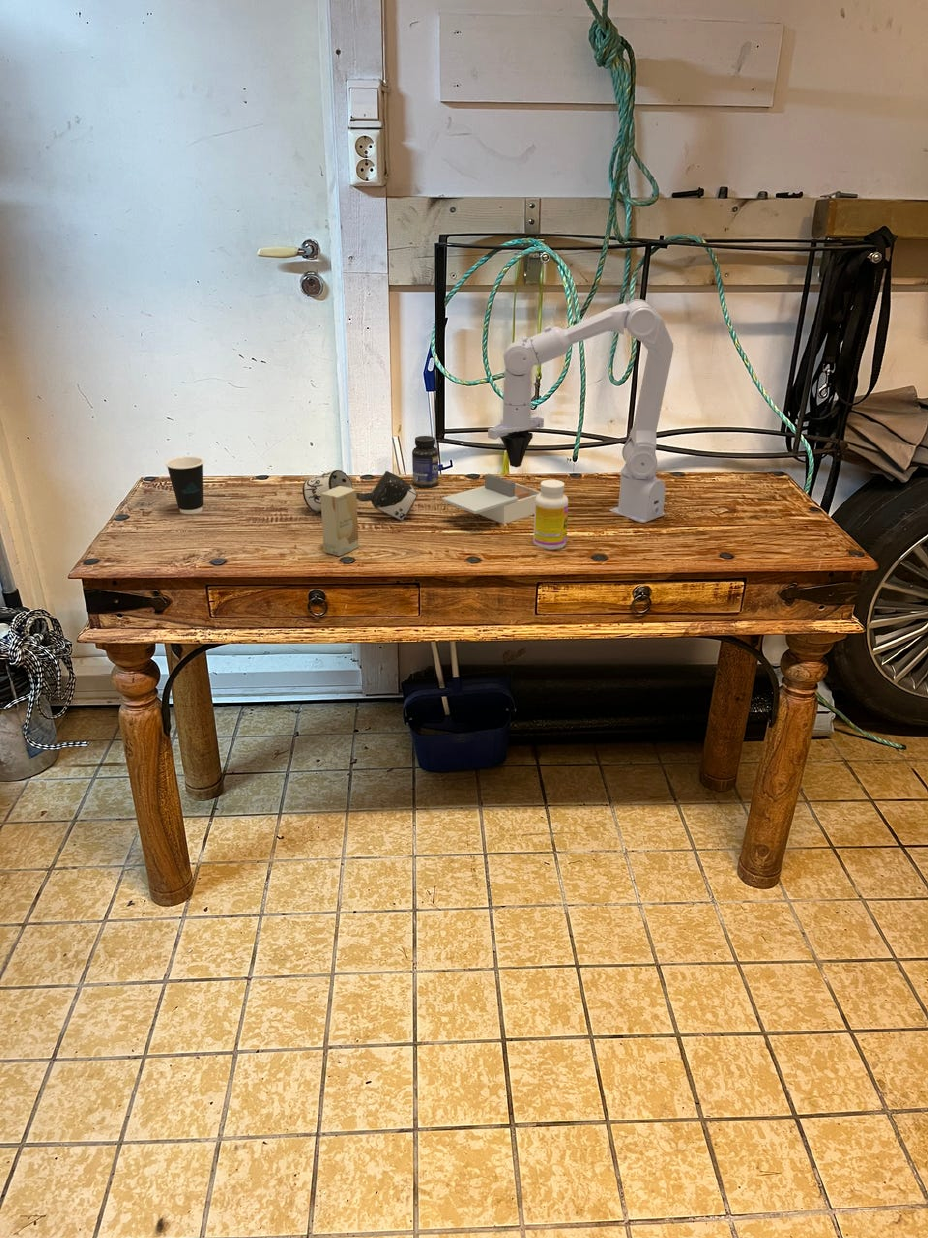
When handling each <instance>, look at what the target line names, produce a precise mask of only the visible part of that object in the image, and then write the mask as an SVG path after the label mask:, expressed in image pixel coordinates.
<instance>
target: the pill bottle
mask: <svg viewBox="0 0 928 1238" xmlns="http://www.w3.org/2000/svg"><path fill="white" fill-rule="evenodd" d="M414 445H415V447H414V448H413V449H412V451H411V457H412V459H411V463H412V469H411V470H412V483H413V485H414V486H415V487H417V488H418V487H419V488H424V489H425V488H433V487H436V486H438V484H439V482H440V481H439V450H438V448H436V447H435V445H436V438H435V437H434V436H432V435H419V436H417V437H415V438H414Z"/></svg>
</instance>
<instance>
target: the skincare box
mask: <svg viewBox="0 0 928 1238" xmlns="http://www.w3.org/2000/svg"><path fill="white" fill-rule="evenodd" d="M356 493H357V489H356V488H353V489H352V488H348V487H344V486H338V487H336V488H333V489H330V490H328V491H326V492H323V493H321V494H320V496H321V512H320V513H321V527H322V528H321V529H322V547H323V548H322V550H323V553H326V554H331V555H334V556H338V557H340V556H343V555H345V554H347V553H349V552H351V551H353V550H355V549H358V548H359V529H358V528H359V526H358V524H359V523H358V502H357V501H358V499H357V497H356ZM357 547H358V548H357Z"/></svg>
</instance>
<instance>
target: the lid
mask: <svg viewBox="0 0 928 1238" xmlns="http://www.w3.org/2000/svg"><path fill="white" fill-rule="evenodd" d="M515 483H516V482H514V481H512V480H508V479H506V478H503V477H500V476H497V475H495V474H491V473H486V474H484V485H482V486H478V487H476V488H472V489H469V490H465V491H464V490H463V491H462V492H458V493H455V494H451V495H447V496H444V497H441V501H442V502H445V503H446V504H448V505H451V506H454V507H456V508H459V509H460V510H461V509H462V510H464V511H467V512H469V513H472V514H474V515H476V514H477V513H480V512H483V511H486V510H489V509H492V508H496V507H499V506H502V505H505V504H508V503H512V502H515V501H518V500H519V498H518V497H516V496H515ZM477 515H478V514H477Z"/></svg>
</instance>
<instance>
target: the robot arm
mask: <svg viewBox="0 0 928 1238" xmlns="http://www.w3.org/2000/svg"><path fill="white" fill-rule="evenodd" d="M625 329H626V330H627V332H628V333H629V334H630V335H631V337H633V338H634V339H635V340H637V341H639V342H640V343H641V344H642V345H643V346H644V348H645V349H646V350H647V354H646V359H645V365H644V371H643V374H642V375H643V376H642V379H641V380H642V381H641V386H640V390H639V396H638V401H637V404H636V405H637V406H636V411H635V416H634V422H633V425H632V428H631V430H630V432H629V437H628V439H627V441H626V442H625V443H624V445H623V447H622V450H621V456H622V459H623V460H624V462H625V464H624V466H623V467H622V468H621V470H620V483H619V484H620V485H619V493H618V494H619V495H618V506H616V507H613V508H611V509H609V511H610V512H612V513H615V514H618V515H620V516H623V517H626V518H628V519H629V520H632V521H635V522H637V523H640V524H641V523H642V524H644V523H647V522H650V521H653V520H656V519H657V518H660V517H663V516H666V512H664V511H665V510H664V509H665V500H666V490H667V489H666V484H665V482H664V481H663V480H662V479H660V478H658V477H657V475H656V470H657V467H658V457H657V455H656V451H657V430H658V425H659V421H660V416H661V411H662V406H663V402H664V396H665V392H666V387H667V381H668V376H669V371H670V369H671V362H672V357H673V351H674V343H673V341H672V338H671V337H670V333H669V332H668V328H667V326H666V324H665V321H664V318H663V317H662V316H661V315H660V314H659V313H658V312H657V311H656V310H655V308H654V307H653V306H651V305H650V303H648V301H646V300H644V299H640V298H639V299H638V298H637V299H635V298H634V299H631V300H630V301H628V302H623V303H620V304H617V305H615V306H612V307H610V308H607V309H606V310H604V311H602V312H599V313H598V314H596V315H593V316H591V317H588V318H587V319H585V320H584V319H583V320H582V321H581V322H578V323H576V324H574V325H572V326H570V327H567V328H565V329H564V328H562V327H559V326H554V327H552V326H551V325H548V326H545V327H544V331H542V332H540V333H537V334H535V335H533V336H530V337H527V336H524V337H523V338H522V339H521V340H522V341H514V342H512V343H510V344H509V345H508V346H507V347H506V348H505V350H504V354H503V362H504V366H505V368H504V369H505V370H504V374H503V375H504V378H503V379H504V380H503V398H502V399H503V401H502V402H503V408H502V411H503V413H502V420H500V423H499V424H496V425H495V426H493V427H491V428H487V432H488V433H487V439H491V440H498V439H499V438H500V440H501V441H502V443H503V446H504V448H505V450H506V453H507V457H508V462H509V466H511V467H513V468H520V467H522V464H523V459H524V456H525V453H526V451H527V449H528V446H529V444H530V442H531V441H532V439H533V435H534V434H533V433H532V432H529V430H534V429H538V428H539V429H543V428H544V427H545V426H544V425H545V422H544V421H545V419H544V418H543V417H539V416H534V417H531V411H532V384H533V383H532V379H531V376H532V375H531V370H532V369H533V367H534V366H541V365H543V364H545V363H547V362H549V361H553V360H555V359H557V358H559V357H561V356H565V355H566V354H567V353H568V351H569V349H570V347H571V346H572V345H574V344H577V343H580V342H582V341H585V340H588V339H590V338H594V337H596V336H598V335H601V334H604V333H606V332H611V333H616V334H621V335H625Z"/></svg>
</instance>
